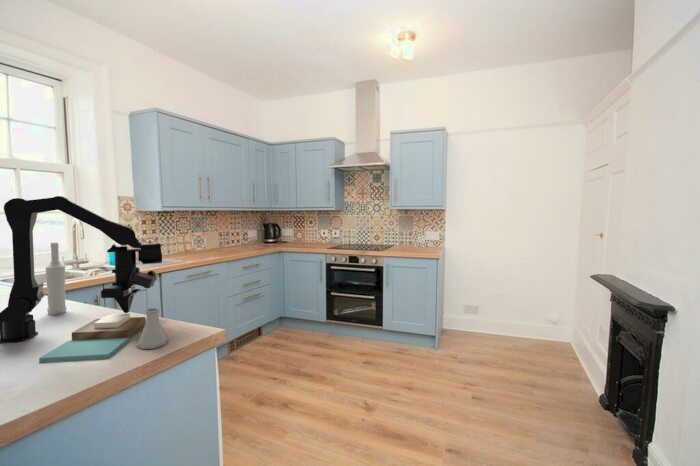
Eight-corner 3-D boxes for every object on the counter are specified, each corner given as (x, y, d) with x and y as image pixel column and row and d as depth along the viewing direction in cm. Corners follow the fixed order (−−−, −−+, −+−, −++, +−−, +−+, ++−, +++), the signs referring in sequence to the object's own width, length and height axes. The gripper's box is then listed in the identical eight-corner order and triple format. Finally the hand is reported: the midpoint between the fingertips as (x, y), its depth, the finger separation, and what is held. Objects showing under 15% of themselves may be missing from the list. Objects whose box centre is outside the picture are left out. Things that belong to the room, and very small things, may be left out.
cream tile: (94, 328, 95) (93, 323, 95) (108, 319, 103) (108, 314, 103) (117, 327, 96) (117, 322, 96) (130, 318, 104) (130, 313, 104)
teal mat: (39, 361, 80) (39, 358, 80) (68, 344, 91) (68, 340, 91) (108, 358, 83) (108, 354, 83) (129, 341, 94) (128, 337, 94)
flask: (154, 351, 88) (153, 314, 87) (130, 348, 89) (130, 312, 88) (173, 341, 95) (173, 306, 94) (152, 338, 96) (151, 304, 95)
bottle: (55, 310, 120) (52, 241, 119) (70, 310, 121) (68, 242, 119) (43, 314, 115) (40, 243, 114) (59, 314, 116) (56, 243, 114)
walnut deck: (71, 343, 92) (71, 332, 91) (96, 328, 103) (96, 318, 103) (127, 340, 94) (127, 330, 94) (145, 326, 106) (145, 316, 106)
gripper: (140, 270, 100) (141, 320, 101) (163, 260, 118) (163, 304, 119) (98, 270, 97) (100, 322, 98) (128, 261, 116) (129, 305, 117)
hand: (126, 312), depth 108 cm, fingers closed
